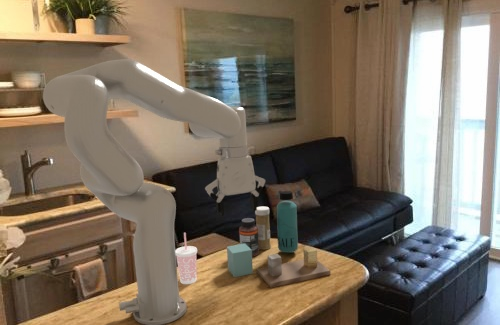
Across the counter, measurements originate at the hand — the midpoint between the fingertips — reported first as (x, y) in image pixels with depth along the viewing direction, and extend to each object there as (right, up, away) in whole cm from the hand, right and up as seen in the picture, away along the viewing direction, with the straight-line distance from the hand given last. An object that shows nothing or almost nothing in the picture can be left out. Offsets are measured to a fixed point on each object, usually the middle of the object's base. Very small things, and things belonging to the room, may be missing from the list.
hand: (237, 212), depth 124 cm
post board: (+16, -17, 0) cm, 23 cm away
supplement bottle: (+4, -15, +16) cm, 22 cm away
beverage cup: (-14, -19, -1) cm, 24 cm away
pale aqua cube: (+1, -18, +3) cm, 18 cm away
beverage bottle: (+16, -15, +15) cm, 26 cm away
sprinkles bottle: (+8, -14, +20) cm, 26 cm away
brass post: (+21, -16, +2) cm, 26 cm away
